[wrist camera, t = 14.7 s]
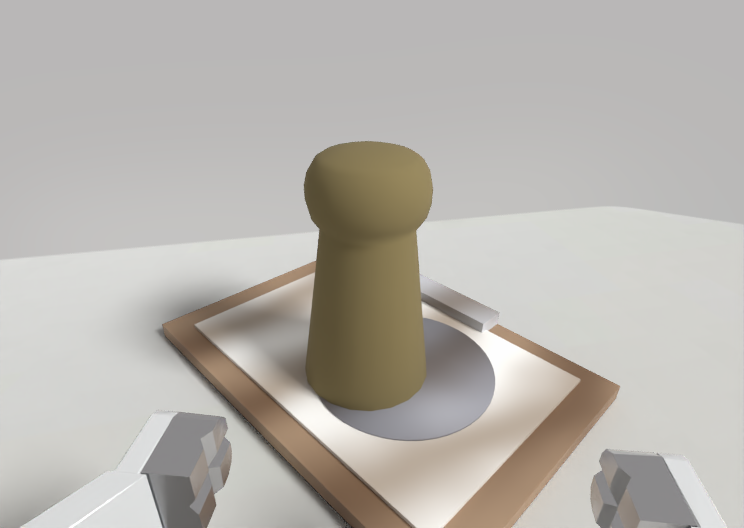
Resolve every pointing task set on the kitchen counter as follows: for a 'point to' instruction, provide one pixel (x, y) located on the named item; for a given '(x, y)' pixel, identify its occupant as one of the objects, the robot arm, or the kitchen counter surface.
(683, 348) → the kitchen counter surface
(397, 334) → the cork
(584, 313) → the kitchen counter surface
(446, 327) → the clipboard
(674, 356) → the kitchen counter surface
